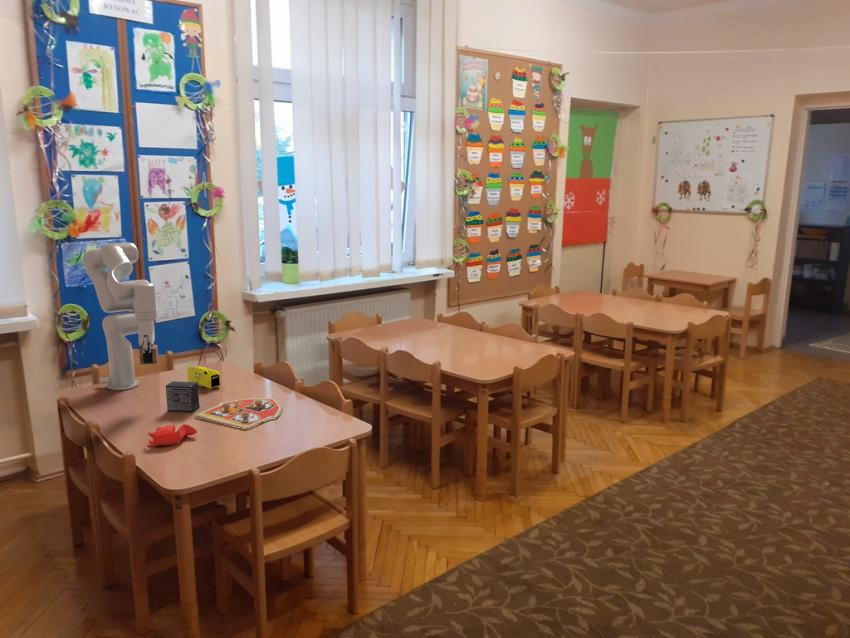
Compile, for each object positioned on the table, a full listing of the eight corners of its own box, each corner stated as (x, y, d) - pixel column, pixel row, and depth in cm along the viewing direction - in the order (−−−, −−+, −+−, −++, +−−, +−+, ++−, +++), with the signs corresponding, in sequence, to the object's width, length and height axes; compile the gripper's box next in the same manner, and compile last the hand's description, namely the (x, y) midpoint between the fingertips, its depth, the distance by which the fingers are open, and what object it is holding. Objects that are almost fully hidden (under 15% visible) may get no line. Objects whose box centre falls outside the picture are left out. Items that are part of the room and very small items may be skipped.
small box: (200, 407, 259) (198, 381, 257) (193, 412, 253) (191, 386, 250) (174, 405, 260) (172, 380, 258) (166, 411, 254) (164, 385, 251)
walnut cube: (140, 364, 254) (139, 349, 253) (142, 360, 260) (141, 345, 259) (156, 363, 256) (155, 348, 255) (158, 359, 262) (157, 344, 260)
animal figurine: (202, 439, 228) (201, 425, 227) (159, 451, 218) (159, 437, 217) (185, 430, 236) (185, 417, 235) (144, 441, 225) (143, 427, 224)
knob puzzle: (191, 418, 248) (190, 407, 247) (246, 396, 274) (245, 385, 273) (250, 433, 235) (250, 421, 234) (302, 407, 260) (302, 397, 259)
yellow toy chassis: (187, 383, 288) (186, 365, 286) (198, 380, 292) (197, 362, 290) (210, 390, 278) (208, 371, 277) (221, 387, 283) (220, 368, 281)
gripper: (138, 310, 261) (141, 354, 265) (132, 320, 245) (135, 367, 249) (158, 310, 263) (161, 353, 267) (153, 319, 247) (157, 366, 251)
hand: (149, 359), depth 258 cm, fingers closed on walnut cube, 6 cm apart
